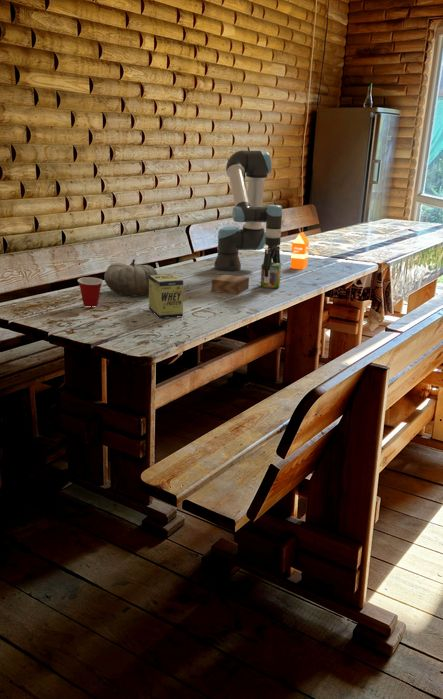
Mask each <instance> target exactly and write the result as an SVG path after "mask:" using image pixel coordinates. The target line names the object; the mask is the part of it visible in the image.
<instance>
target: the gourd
mask: <svg viewBox="0 0 443 699" xmlns="http://www.w3.org/2000/svg"><path fill="white" fill-rule="evenodd" d="M135 262H136V258H133V259H132V261H131V263H130V264H126V263H122V262H115V263H111V264H110V265H109V266H108V268H107V269H106V270H105V272H104V275H103V277H104V278H103V279H104V280H103V281H104V282H105V284H106V285H107V287H108V288H109V289H110V290H111V291H113V292H114V293H115V294H117V295H121V296H123V297H127V296H130V297H134V296H137V297H138V296H143V295H149V275H158V271H157V270H156V269H155V268H154V267H153V266H151V265H149V264H139V263H138V264H137V263H136V264H135Z"/></svg>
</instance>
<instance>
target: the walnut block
mask: <svg viewBox="0 0 443 699" xmlns="http://www.w3.org/2000/svg"><path fill="white" fill-rule="evenodd" d="M249 283H250V277H249V276H240V275H233V274H224V273H223V274H221V275H218V276H217V277H214V278H212V279H211V292H216V291H219V292H218V293H224V292H225V294H233V295H240V294H241V293H243V292H245V291H247V290H249V288H250V287H249Z"/></svg>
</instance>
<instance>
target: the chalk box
mask: <svg viewBox="0 0 443 699" xmlns="http://www.w3.org/2000/svg"><path fill="white" fill-rule="evenodd" d="M260 266H261V268H260V288H265V289H266V288H267V289H279V288H280V287H281V272H282V269H281V268H282V264H281V262H280V263H273V260H272V261H271V265H270V269H269V270H270V282H269V283H264V270H263V263H262V264H261V265H260Z"/></svg>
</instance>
